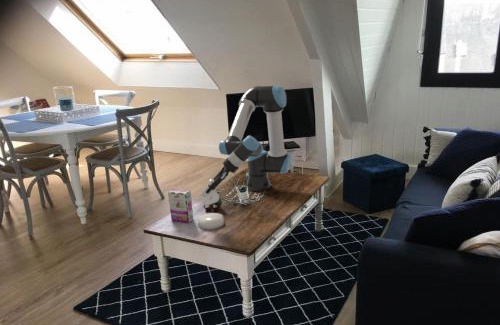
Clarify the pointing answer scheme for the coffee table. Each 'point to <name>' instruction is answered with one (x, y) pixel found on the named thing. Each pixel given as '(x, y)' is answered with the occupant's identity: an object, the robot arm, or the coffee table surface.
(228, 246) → the coffee table surface
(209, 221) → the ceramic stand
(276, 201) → the coffee table surface
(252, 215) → the coffee table surface
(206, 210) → the green bottle cruet set
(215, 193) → the white creature statuette
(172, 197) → the candy bar box
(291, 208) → the coffee table surface
